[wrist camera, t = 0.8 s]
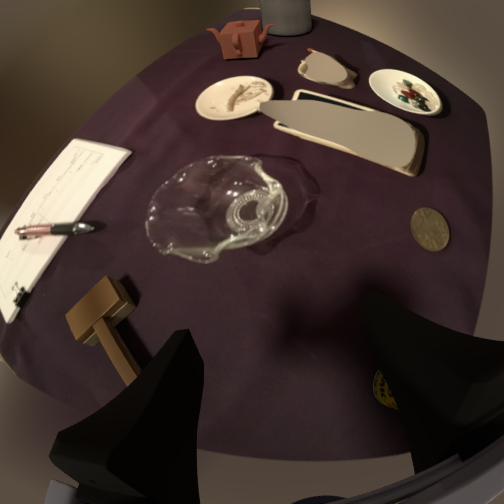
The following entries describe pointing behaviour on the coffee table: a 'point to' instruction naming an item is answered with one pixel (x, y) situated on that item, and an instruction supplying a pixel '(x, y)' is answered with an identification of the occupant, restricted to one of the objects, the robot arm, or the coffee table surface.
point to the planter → (286, 16)
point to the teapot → (241, 38)
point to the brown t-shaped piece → (105, 323)
